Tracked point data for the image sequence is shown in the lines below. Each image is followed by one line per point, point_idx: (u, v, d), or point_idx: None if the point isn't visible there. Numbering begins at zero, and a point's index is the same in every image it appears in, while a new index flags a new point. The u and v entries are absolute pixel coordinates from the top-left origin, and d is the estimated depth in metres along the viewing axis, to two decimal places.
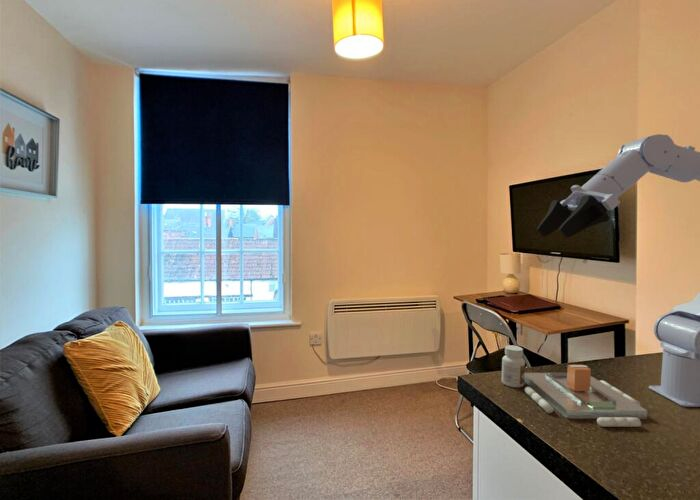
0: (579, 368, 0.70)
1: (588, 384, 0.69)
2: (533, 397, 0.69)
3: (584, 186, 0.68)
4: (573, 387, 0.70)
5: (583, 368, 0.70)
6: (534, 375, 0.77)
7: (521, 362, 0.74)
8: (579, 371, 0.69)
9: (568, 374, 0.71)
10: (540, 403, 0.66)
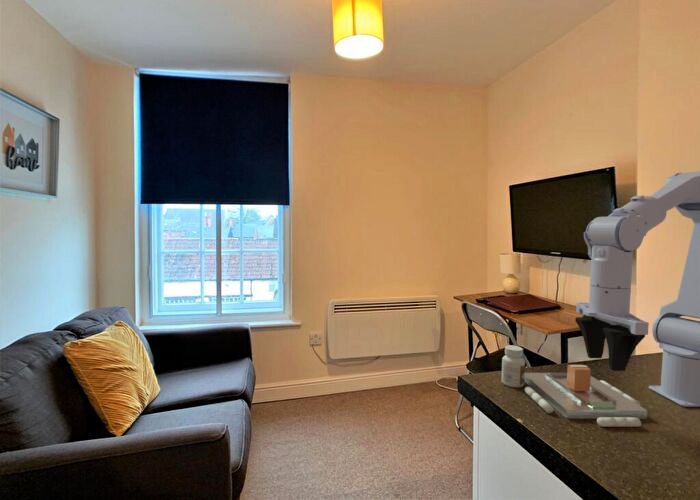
0: (579, 368, 0.70)
1: (588, 384, 0.69)
2: (533, 397, 0.69)
3: (594, 306, 0.62)
4: (573, 387, 0.70)
5: (583, 368, 0.70)
6: (534, 375, 0.77)
7: (521, 362, 0.74)
8: (579, 371, 0.69)
9: (568, 374, 0.71)
10: (540, 403, 0.66)
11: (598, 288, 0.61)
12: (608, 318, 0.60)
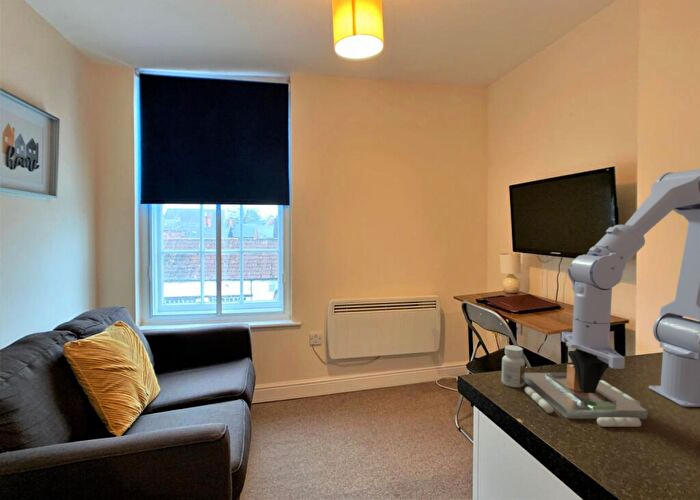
0: None
1: None
2: (533, 397, 0.69)
3: (576, 338, 0.67)
4: (573, 387, 0.70)
5: None
6: (534, 375, 0.77)
7: (521, 362, 0.74)
8: None
9: (568, 374, 0.71)
10: (540, 403, 0.66)
11: (580, 322, 0.66)
12: (589, 351, 0.64)
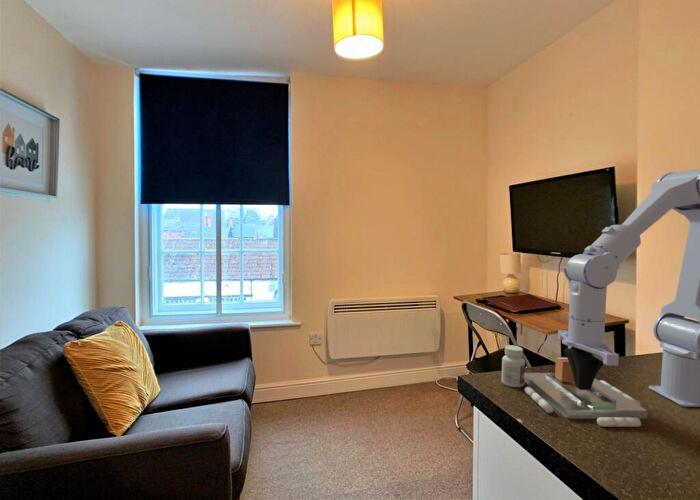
0: (566, 360, 0.74)
1: None
2: (533, 397, 0.69)
3: (572, 336, 0.68)
4: (561, 378, 0.74)
5: None
6: (534, 375, 0.77)
7: (521, 362, 0.74)
8: (566, 363, 0.73)
9: (556, 366, 0.75)
10: (540, 403, 0.66)
11: (575, 320, 0.67)
12: (584, 348, 0.66)
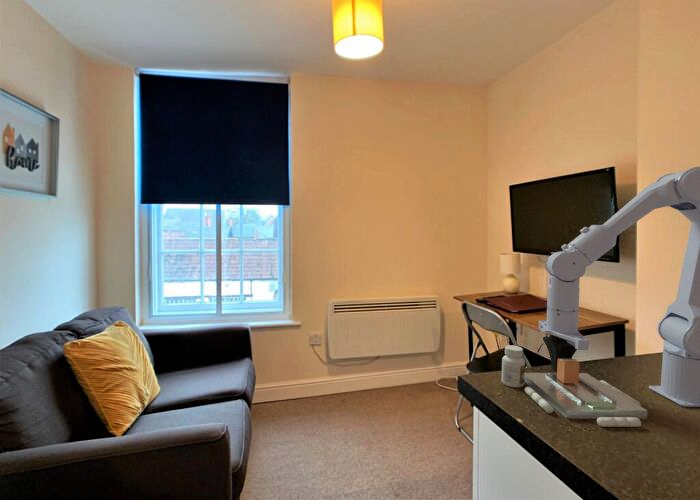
0: (568, 361, 0.73)
1: (577, 377, 0.73)
2: (533, 397, 0.69)
3: (549, 325, 0.76)
4: (563, 380, 0.73)
5: (572, 361, 0.73)
6: (534, 375, 0.77)
7: (521, 362, 0.74)
8: (568, 364, 0.73)
9: (558, 367, 0.75)
10: (540, 403, 0.66)
11: (552, 311, 0.75)
12: (559, 335, 0.73)
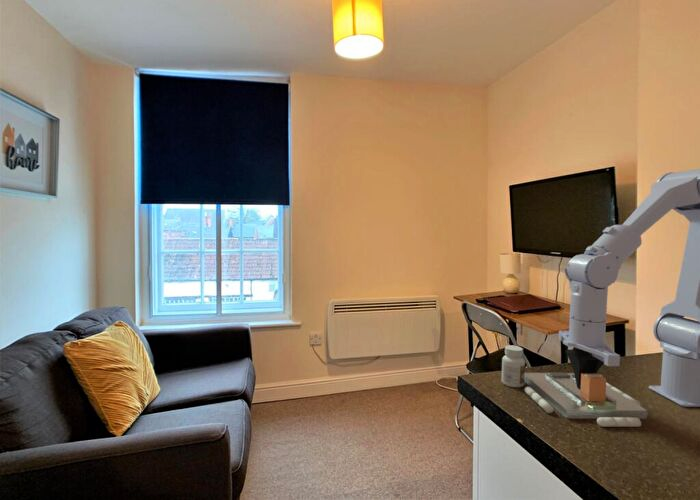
0: (594, 377, 0.65)
1: (603, 394, 0.65)
2: (533, 397, 0.69)
3: (572, 337, 0.68)
4: (587, 397, 0.66)
5: (598, 377, 0.65)
6: (534, 375, 0.77)
7: (521, 362, 0.74)
8: (593, 380, 0.65)
9: (582, 383, 0.67)
10: (540, 403, 0.66)
11: (576, 321, 0.67)
12: (585, 349, 0.65)
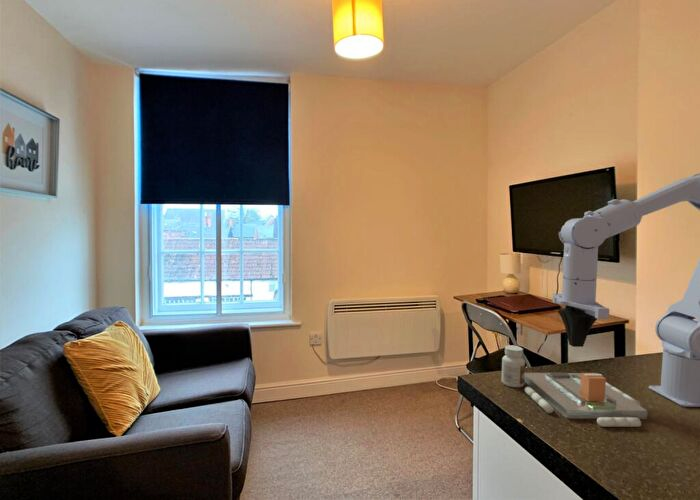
0: (593, 377, 0.66)
1: (603, 394, 0.65)
2: (533, 397, 0.69)
3: (565, 296, 0.72)
4: (587, 397, 0.66)
5: (597, 377, 0.66)
6: (534, 375, 0.77)
7: (521, 362, 0.74)
8: (593, 380, 0.65)
9: (581, 383, 0.67)
10: (540, 403, 0.66)
11: (569, 280, 0.71)
12: (577, 306, 0.69)
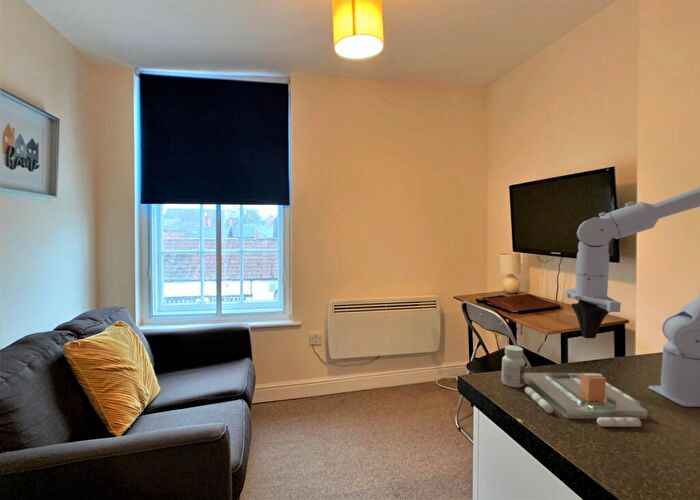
0: (593, 377, 0.66)
1: (603, 394, 0.65)
2: (533, 397, 0.69)
3: (579, 291, 0.77)
4: (587, 397, 0.66)
5: (597, 377, 0.66)
6: (534, 375, 0.77)
7: (521, 362, 0.74)
8: (593, 380, 0.65)
9: (581, 383, 0.67)
10: (540, 403, 0.66)
11: (582, 276, 0.76)
12: (590, 300, 0.75)
